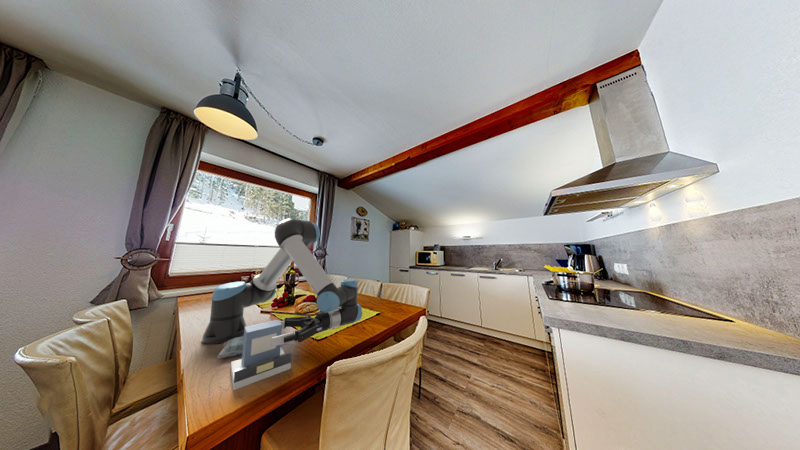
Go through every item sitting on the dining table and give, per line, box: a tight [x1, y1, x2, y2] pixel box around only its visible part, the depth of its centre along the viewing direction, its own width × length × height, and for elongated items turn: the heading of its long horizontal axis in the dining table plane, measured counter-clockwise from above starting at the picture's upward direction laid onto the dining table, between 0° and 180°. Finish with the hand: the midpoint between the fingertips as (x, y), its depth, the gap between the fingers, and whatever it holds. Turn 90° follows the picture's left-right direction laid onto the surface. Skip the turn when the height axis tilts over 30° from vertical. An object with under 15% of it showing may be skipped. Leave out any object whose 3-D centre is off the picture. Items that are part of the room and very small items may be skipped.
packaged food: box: [216, 335, 244, 359], centre depth 77 cm, size 9×12×5 cm
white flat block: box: [230, 347, 292, 391], centre depth 67 cm, size 14×15×5 cm
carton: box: [241, 319, 283, 368], centre depth 68 cm, size 6×10×12 cm, turn 134°
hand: (267, 335), depth 69 cm, fingers open, 13 cm apart
